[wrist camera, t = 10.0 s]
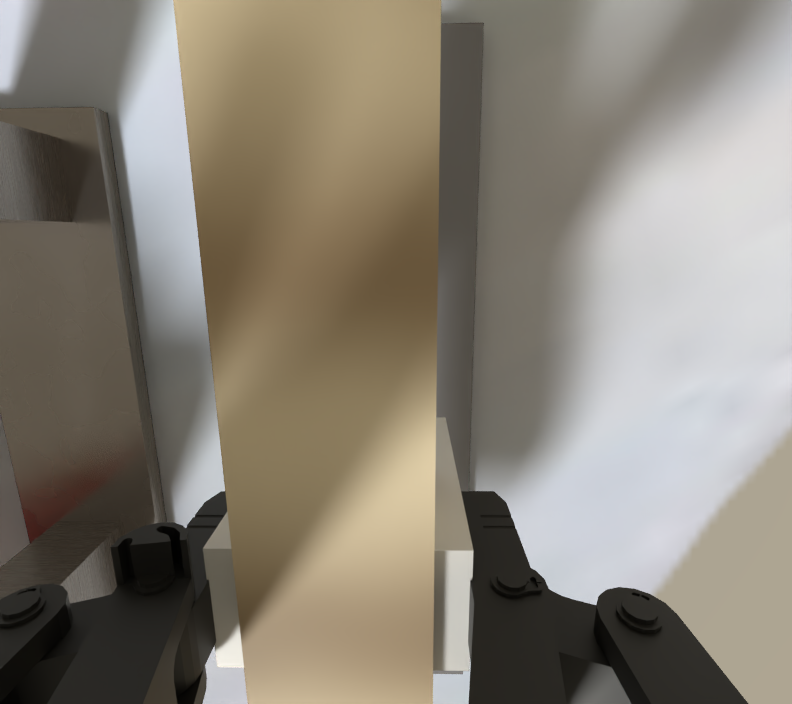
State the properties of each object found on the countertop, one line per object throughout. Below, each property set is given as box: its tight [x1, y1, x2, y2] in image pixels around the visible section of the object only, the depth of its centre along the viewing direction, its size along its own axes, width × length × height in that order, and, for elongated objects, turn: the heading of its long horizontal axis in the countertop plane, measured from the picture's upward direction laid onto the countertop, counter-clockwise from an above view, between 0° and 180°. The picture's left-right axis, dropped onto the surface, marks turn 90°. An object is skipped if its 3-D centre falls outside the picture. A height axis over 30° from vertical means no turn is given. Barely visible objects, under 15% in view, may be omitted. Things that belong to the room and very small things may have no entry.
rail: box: [173, 0, 441, 704], centre depth 10 cm, size 24×4×4 cm, turn 1°
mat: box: [433, 23, 484, 674], centre depth 20 cm, size 28×8×1 cm, turn 1°
